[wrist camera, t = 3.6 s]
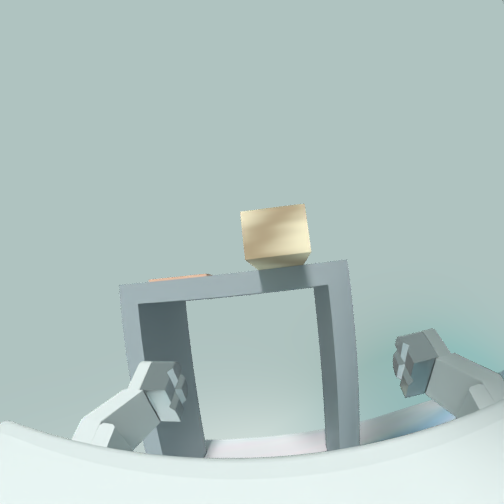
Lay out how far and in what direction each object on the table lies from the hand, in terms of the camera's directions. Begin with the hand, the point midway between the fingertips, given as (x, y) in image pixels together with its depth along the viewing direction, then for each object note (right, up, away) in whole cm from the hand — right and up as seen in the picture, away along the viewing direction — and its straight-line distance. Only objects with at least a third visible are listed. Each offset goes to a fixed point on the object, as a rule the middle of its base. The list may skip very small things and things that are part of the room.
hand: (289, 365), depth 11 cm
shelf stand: (0, -24, +21) cm, 32 cm away
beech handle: (+1, +2, +19) cm, 19 cm away
